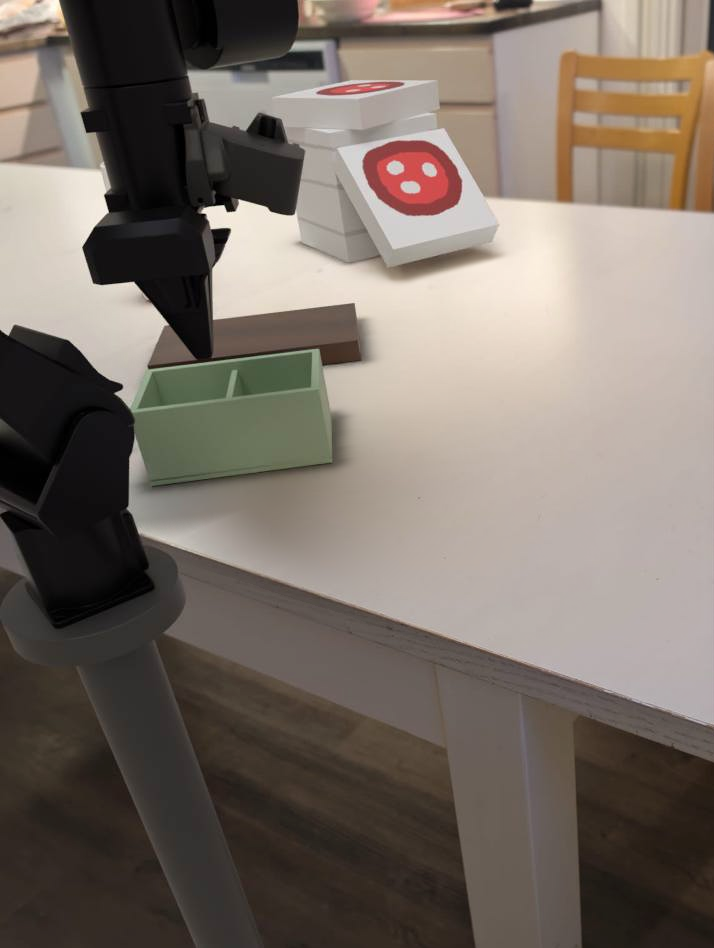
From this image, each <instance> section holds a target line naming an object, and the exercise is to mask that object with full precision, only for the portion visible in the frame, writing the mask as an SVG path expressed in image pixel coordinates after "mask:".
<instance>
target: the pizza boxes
mask: <svg viewBox="0 0 714 948" xmlns="http://www.w3.org/2000/svg"><path fill="white" fill-rule="evenodd" d="M270 102H271V106H272V114H273V117H276V118H280V119H282V122H283V126H284V129H285V133H286V136H287V140H288V143H289V144H293V143H295V144H299V147H300V148H302V149H304V150H305V156H304V163H303V169H302V175H301V181H300V188H299V194H298V200H297V206H296V211H295V214H296V217H297V222H298V223H297V224H298V229H299V234H300V240H301V244H304V245H306V246H308V247H311V248H313V249H315V250H318V251H320V252H322V253H325V254H327V255H329V256H331V257H333V258H336V259H339V260H341V261H344V262H346V263H354V262H357V261H363V260H366V259H367V260H368V259H371V258H374V257H379V256H380V257H381V258H382V260H383V262H384V263H385V266H386V267H387V268H389V269H390V268H392V267H397V266H401V265H404V264H408V263H412V262H416V261H420V260H425V259H429V258H434V257H436V256H437V257H438V256H440V255H446V254H449V253H454V252H458V251H462V250H465V249H470V248H473V247H477V246H481V245H486V244H490V243H492V242H493V240H494V237H495V235H496V233H497V231H498V229H499V227H500V222H499V220H498V219H497V217H496V215H495V214H494V211H493V210H492V208H491V206H490V205H489V203H488V202H487V200H486V198H485V196H484V195H483V192H481V191H482V190H481V189H480V187H479V185H478V184H477V182H476V181H475V179H474V177H473V176H472V174H471V172H470V170H469V169H468V167H467V166H466V164H465V162H464V159H463V158H462V156H461V155H460V153H459V152H458V150H457V148H456V146H455V145H454V143H453V141H452V139H451V137H450V136H449V134H448V133H447V130H446V129H445V128H444V127H443V128H438V119H437V114H436V113H433V112H434V111H439V110H441V107H440V106H441V105H440V94H439V81H438V80H437V79H435V80H431V79H429V80H426V79H425V80H423V79H420V80H419V79H417V80H416V79H415V80H414V79H412V80H411V79H410V80H409V79H408V80H407V79H403V80H401V79H399V80H398V79H397V80H396V79H393V80H392V79H389V80H388V79H351V80H346V81H342V82H337V83H332V84H327V85H323V86H317V87H314V88H308V89H303V90H298V91H294V92H291V93H286V94H281V95H276V96H271V97H270Z"/></svg>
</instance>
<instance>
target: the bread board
mask: <svg viewBox="0 0 714 948" xmlns="http://www.w3.org/2000/svg"><path fill="white" fill-rule="evenodd" d="M359 332H360V331H359V323H358V316H357V310H356V303H355V302H350V303H343V304H342V303H340V304H333V305H326V306H325V305H324V306H318V307H308V308H301V309H292V310H283V311H277V312H275V311H274V312H267V313H259V314H250V315H241V316H233V317H226V318H217V319H213V347H214V352H213V355H212V357H211V358H210V359H202V360H197V359H195V358H194V356H193V355H192V354H191V353H190V351H189V350H188V349H187V347H186V346H185V345H184V344H183V342H182V341H181V340H180V338H179V337H178V336H177V335H176V333H175V332H174V331H173V329H172V328H171V327H170V326H169V324H167V325H164V326H163V328H162V330H161V333H160V334H159V337H158V340H157V342H156V345H155V347H154V349H153V351H152V354H151V356H150V359H149V360H148V363H147V366H146V367H147V370H149V369H157V368H165V367H173V366H181V365H189V364H198V363H206V362H214V361H222V360H230V359H238V358H246V357H255V356H263V355H271V354H279V353H287V352H295V351H303V350H312V349H319V350H320V356H321V361H322V366H325V365H332V364H333V365H334V364H340V363H348V362H357V361H362V355H361V344H360V343H361V342H360V334H359Z"/></svg>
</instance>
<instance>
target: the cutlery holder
mask: <svg viewBox="0 0 714 948" xmlns="http://www.w3.org/2000/svg"><path fill="white" fill-rule="evenodd" d="M129 408H130V410H131V412H132V414H133V416H134V418H135V424H134V433H135V440H136V442H137V443H136V444H137V447H138V449H139V452H140V455H141V458H142V462H143V464H144V468H145V470H146V473H147V477H148V481H149V483H150V487H154V486H162V485H170V484H179V483H185V482H193V481H194V482H195V481H200V480H207V479H208V480H209V479H216V478H224V477H231V476H240V475H246V474H254V473H261V472H262V473H263V472H270V471H277V470H286V469H294V468H300V467H308V466H316V465H323V464H330V463H333V461H334V460H333V422H332V421H333V419H332V418H333V417H332V411H331V405H330V400H329V395H328V389H327V385H326V378H325V372H324V367H323V365H322V361H321V356H320V350H319V349H312V350H303V351H295V352H287V353H279V354H271V355H263V356H255V357H246V358H238V359H230V360H222V361H214V362H206V363H198V364H189V365H181V366H173V367H165V368H157V369H149V370H148V369H146V370H145V373H144V375H143V377H142V380H141V382H140V384H139V387H138V389H137V391H136V392H135V395H134V398H133V401H132V402H131V405H130V407H129Z"/></svg>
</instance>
